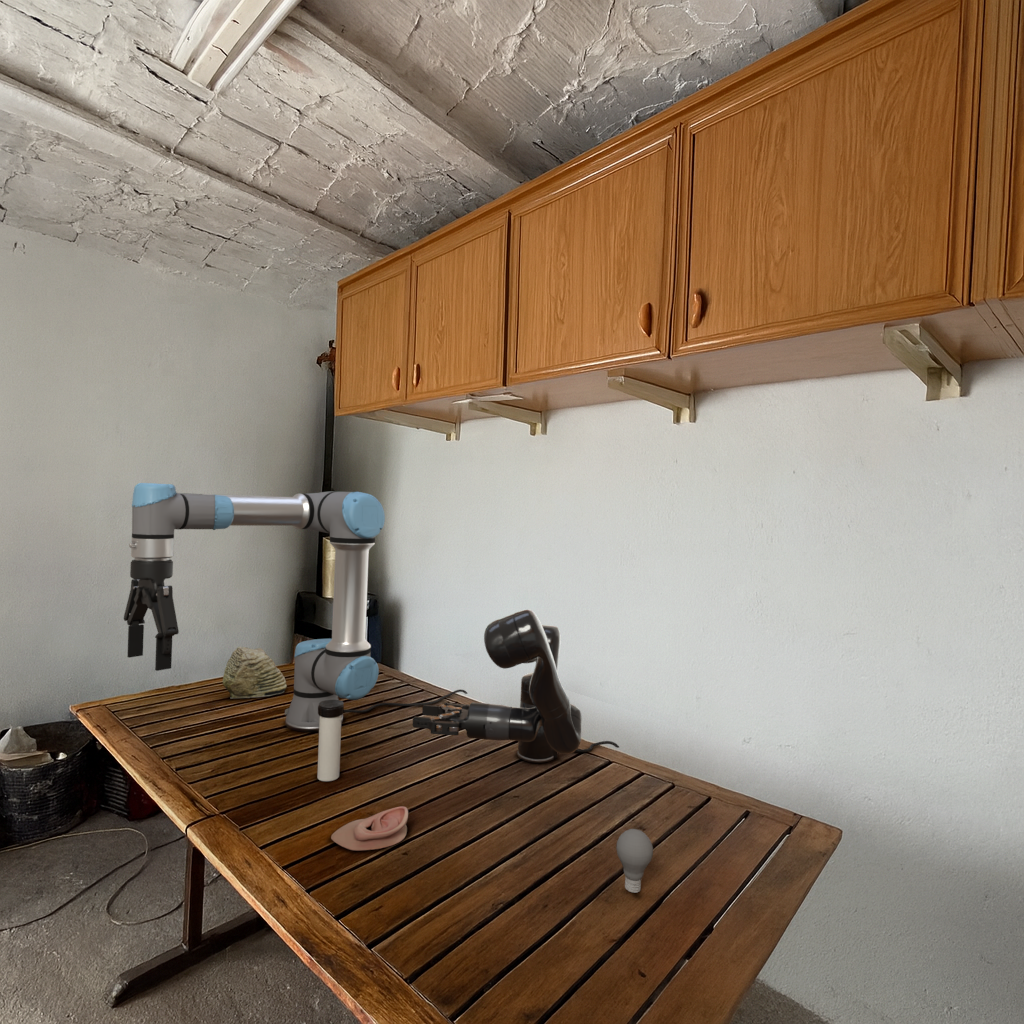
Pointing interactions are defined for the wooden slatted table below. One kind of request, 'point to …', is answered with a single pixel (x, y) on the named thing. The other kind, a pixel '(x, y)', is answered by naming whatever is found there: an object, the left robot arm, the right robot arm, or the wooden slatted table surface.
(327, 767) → the jar
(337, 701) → the lid
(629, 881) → the light bulb
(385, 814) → the anatomical model
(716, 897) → the wooden slatted table surface
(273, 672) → the fossil
